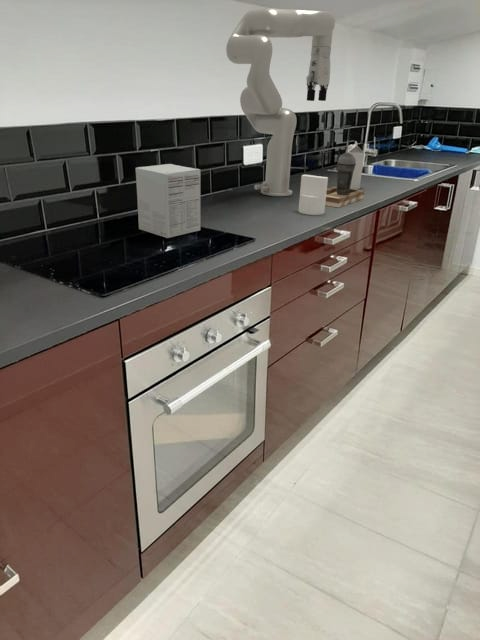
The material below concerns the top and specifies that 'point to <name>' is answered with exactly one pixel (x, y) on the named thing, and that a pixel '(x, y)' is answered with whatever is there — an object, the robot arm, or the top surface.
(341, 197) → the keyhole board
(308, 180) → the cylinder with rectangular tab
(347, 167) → the beverage cup
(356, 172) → the milk carton
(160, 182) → the supplement box
